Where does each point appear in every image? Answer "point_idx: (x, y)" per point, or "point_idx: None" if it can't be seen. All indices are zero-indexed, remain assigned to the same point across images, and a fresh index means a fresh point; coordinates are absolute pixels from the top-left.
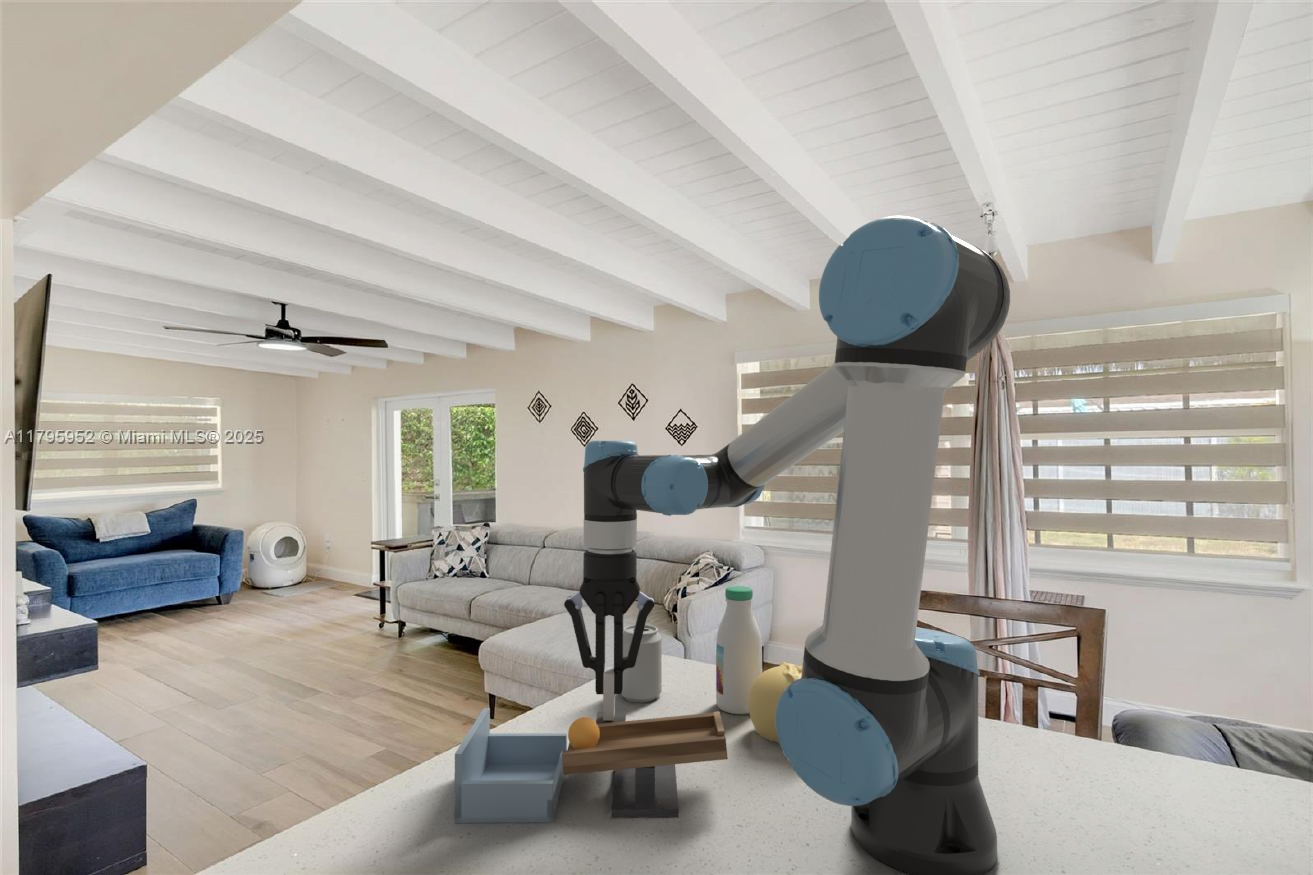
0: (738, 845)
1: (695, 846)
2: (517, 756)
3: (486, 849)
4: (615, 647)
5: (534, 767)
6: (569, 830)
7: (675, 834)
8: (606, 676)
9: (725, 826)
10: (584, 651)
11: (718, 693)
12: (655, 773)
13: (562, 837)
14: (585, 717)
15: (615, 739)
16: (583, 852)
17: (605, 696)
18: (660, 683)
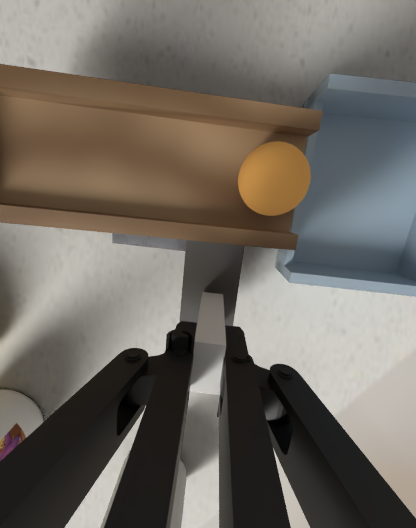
0: (36, 3)
1: (99, 8)
2: (359, 271)
3: (404, 35)
4: (177, 406)
5: (326, 257)
6: (280, 76)
7: (126, 46)
8: (217, 339)
9: (52, 61)
10: (308, 407)
11: (25, 431)
12: None
13: (291, 57)
14: (277, 185)
15: (203, 210)
16: (263, 9)
17: (219, 314)
18: (118, 478)
